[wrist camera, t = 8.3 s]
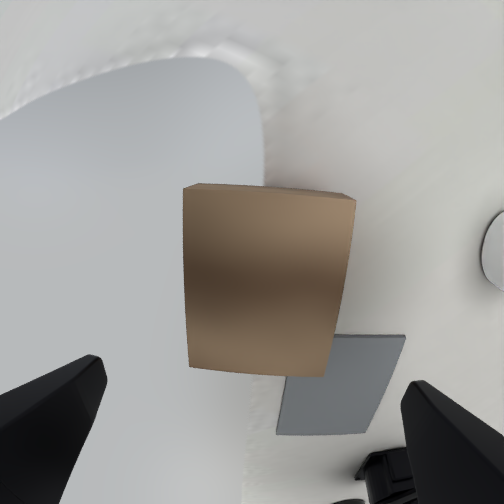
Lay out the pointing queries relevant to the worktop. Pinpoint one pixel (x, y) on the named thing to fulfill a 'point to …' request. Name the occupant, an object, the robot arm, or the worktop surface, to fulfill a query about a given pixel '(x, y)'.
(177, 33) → the worktop surface
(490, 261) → the can
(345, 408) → the mat
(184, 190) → the lid
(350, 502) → the supplement bottle
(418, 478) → the robot arm
